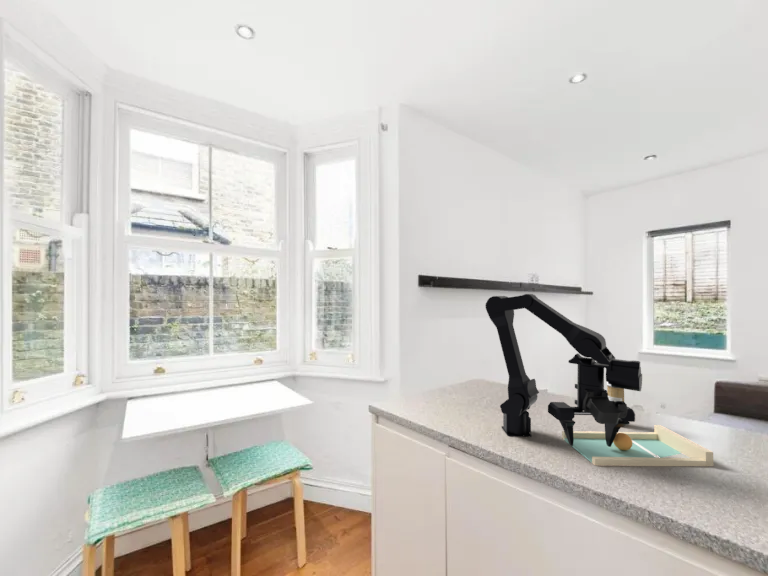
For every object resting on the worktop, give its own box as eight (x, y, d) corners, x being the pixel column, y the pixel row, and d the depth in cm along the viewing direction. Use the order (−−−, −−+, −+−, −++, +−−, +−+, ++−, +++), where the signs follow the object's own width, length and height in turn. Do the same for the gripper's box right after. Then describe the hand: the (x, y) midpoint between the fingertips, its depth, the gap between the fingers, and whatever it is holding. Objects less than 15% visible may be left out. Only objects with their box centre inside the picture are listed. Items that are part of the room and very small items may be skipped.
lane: (594, 467, 80) (594, 450, 80) (562, 438, 95) (562, 423, 95) (713, 470, 79) (713, 452, 79) (660, 439, 94) (660, 425, 95)
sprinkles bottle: (627, 424, 105) (627, 379, 105) (620, 428, 103) (620, 382, 103) (611, 420, 109) (610, 376, 109) (603, 423, 106) (603, 378, 106)
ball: (623, 454, 85) (615, 438, 86) (614, 449, 89) (606, 434, 90) (639, 449, 85) (631, 432, 86) (629, 444, 89) (621, 428, 90)
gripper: (568, 392, 80) (568, 460, 80) (652, 393, 79) (651, 462, 79) (547, 379, 91) (546, 439, 91) (620, 380, 90) (619, 441, 90)
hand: (589, 445), depth 88 cm, fingers open, 9 cm apart
